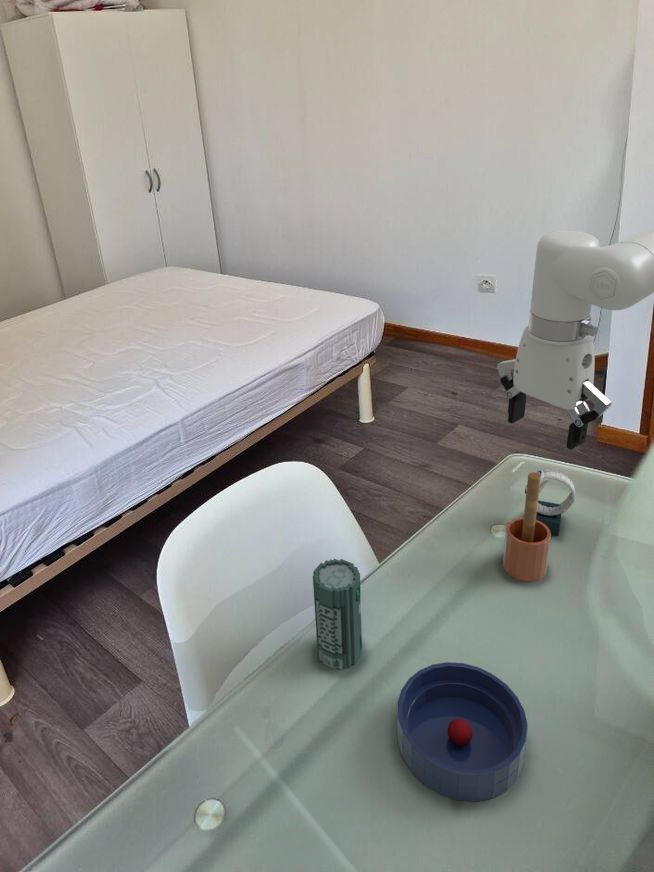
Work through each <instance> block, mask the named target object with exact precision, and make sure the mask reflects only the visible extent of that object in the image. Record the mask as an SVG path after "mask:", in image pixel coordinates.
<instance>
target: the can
mask: <svg viewBox="0 0 654 872" xmlns="http://www.w3.org/2000/svg"><path fill="white" fill-rule="evenodd" d="M312 574H313V575H312V585H313V586H312V587H313V600H314V601H313V602H314V616H315V617H314V618H315V633H316V634H315V635H316V648H317V649H316V650H317V656H318V659H319V662H320V663H321V664H323V665H325V666H327V667H329V668H332V669H334V670H336V669H339V670H341V671H342V670H343V669H345V670H346V669H347V668H349V669H350V668H351V667H352V666H353V665H354V666H356V665H357V663H358V662H359V660H360V658H361V657H362V656H363V641H362V640H363V637H362V636H363V635H362V634H363V633H362V597H361V573H360V570H359V569H358V567H357V566H355V564H354V563H353V562H351V561H350V562H349V561H347V560H346V559H342V558H340V559H338V558H337V559H336V558H333V559H329V560H327V559H326V560H325V561H324V562H320V563H319V564H318V565H317V567H315V569H314V570H313V572H312Z"/></svg>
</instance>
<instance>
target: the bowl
mask: <svg viewBox="0 0 654 872" xmlns="http://www.w3.org/2000/svg"><path fill="white" fill-rule="evenodd" d="M396 712H397V714H396V715H397V716H396V717H397V719H396V720H397V721H396V722H397V723H396V724H397V727H396V730H397V732H396V733H397V745H398V748H399V751H400V755H401V757H402V760H403V761H404V762H405V764H406V766H407V768H408V769H409V771H410V773H411V774H412V775H414V776H415V777H416V779H418V780H419V781H420V782H421V783H422V785H424V786H425V787H428V788H429V789H430V790H432V791H433V792H436V793H437V794H438V795H440V796H444V797H447V798H449V799H453V800H456V801H461V802H471V803H473V802H474V803H476V802H481V801H486V800H491V799H494V798H496V797H497V796H500V795H501V794H504V793H505V792H507V791H508V790H509V789H510V788H511V787H512V786H513V785H514V784H515V783H516V782H517V780H519V779H518V778H519V777H520V774H521V772H522V770H523V768H524V761H525V753H526V747H527V740H528V739H527V738H528V727H529V725H528V720H527V716H526V711H525V709H524V707H523V705H522V703H521V701H520V700H519V697H518V696H517V694H515V692H514V691H513V690H512V689H511V688H510V686H509V685H508V684H507V683H506V682H505V681H503V680H502V679H500V678H499V677H498V676H496V675H495V674H493V673H491V672H489V671H487V670H485V669H483V668H481V667H479V666H476V665H473V664H472V665H471V664H467V663H464V662H450V661H449V662H447V661H446V662H440V663H434V664H431V665H428V666H426V667H424V668H422V669H420V670H419V669H418V671H417V672H415V673H414V674H412V676H410V677H409V678H408V679H407V680H406V682H405V684H404V685H403V686H402V687H401V690H400V693H399V696H398V699H397V711H396ZM454 719H463V720H465V721H466V722H467V723H468V724H469V725H470V727H471V729H472V739H471V741H470V742H469V743H468V744H467V745H465V746H458V745H455V744H454V743H453V742H452V741H451V740H450V739H449V736H448V733H447V729H448V725H449V724H450V722H451V721H453V720H454Z"/></svg>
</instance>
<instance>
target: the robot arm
mask: <svg viewBox="0 0 654 872" xmlns="http://www.w3.org/2000/svg"><path fill="white" fill-rule="evenodd" d="M536 247H537V248H536V252H535V261H534V270H533V280H532V281H533V282H532V289H531V297H530V298H531V299H530V309H529V317H528V325H527V326H525V327H524V329H523V332H522V335H521V337H520V340H519V344H518V346H517V351H516V356H515V359H508V360H503V361H502V362H499V363H497V364H496V369H497V372H498V375H499V377H500V379H499V380H500V384H501V385H502V386H503V388H504V390H505V396H506V397H507V398H508V404H507V405H508V406H507V413H508V415H507V422H508V423H509V424H514V423H516V422H517V421H520V420H521V419H523V418H524V417H525V413H526V406H527V405H526V404H527V396H530V397H532V398H535V399H538V400H539V401H542V402H544V403H547V404H550V405H552V406H555V407H557V408H560V409H563V410H566V411H567V412H568V414H569V417H570V418H571V420H572V423H570V424H569V427H568V431H567V432H568V434H567V439H566V446H565V447H566V448H567V449H568V450H570V451H572V450H573V449H575V448H577V447H578V446H581V445H583V444H584V442H585V441H586V439H587V432H588V427H589V423H591V422H593V421H595V420H597V419H599V418H600V417H603V415H604V413H605V412H606V411H608V409H610V407H611V406H612V401H611V400H610V399H609V398H608V397H607V396H605V394H604V393H602V392H601V391H600V390H599V389H598V388H597V387H595V386H594V383H595V370H596V369H595V365H596V363H595V361H596V360H595V359H596V358H595V345H594V337H595V336H596V335H597V333H598V327H597V326H594V325H593V324H592V323H591V322H592V321H591V320H592V317H591V311H592V306H595V307H598V308H600V309H603V310H608V311H622V310H623V311H624V310H627V309H629V308H631V307H633V306H635V305H637V304H638V303H641V301H643V300H644V299H646V298H648V297H649V296H651V295H653V294H654V229H650V230H646V231H642V232H639V233H635V234H633V235H631V236H629V237H627V238H625V239H622V240H620V241H618V242H616V243H614V244H609V245H605V246H600V241H599V239H598V238H597V237H595V235H593V234H591V233H589V232H588V233H587V232H585V231H579V230H571V229H570V230H569V229H568V230H567V229H566V230H565V229H564V230H563V229H562V230H556V231H552V232H548V233H545V234H544V235H542V236H541V238H539V240H538V243H537V246H536ZM512 370H513V374H511V373H512ZM588 401H590V402H591V403H593V408H592V409H590V407H589V405H588V403H587V402H588Z"/></svg>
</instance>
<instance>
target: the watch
mask: <svg viewBox="0 0 654 872" xmlns="http://www.w3.org/2000/svg"><path fill="white" fill-rule="evenodd" d="M536 473H538V474H540V475H541V479H540V488H539V494H540V493H541V492H542V491H543V489H544V488H545V486H546V484H547V483H549V481H550V480H554V481H558V482H560V483H562V484H564V485H565V486H567V488H568V489H569V490H570V492H569V494H568V495H567V497H566V498H565V499H564V500H563V501H562V502H560V503H554V502H550V501H545V500H539V499H538V505H537V514H536V520H538V521H540V522H542V523H544V524H545V525H546V526H547V527H548V528H549V529H550V532H551V536H555V537H559V535H560V527H561V519H562V515H563V514H565V513H566V512H567V511H568V510H569V509H570V508H571V507H572V505H573V504H574V502H575V499H576V488H575V484H574V482H573V481H572V479H571V478H570V477H569V476H567V475H566V474H565V473H563V472H561V471H558V470H553V469H552V470H551V469H544V470H541V469H540V470H538V471H537V472H536ZM526 491H527V485H526V486H525V488H524V494H525V495H526Z"/></svg>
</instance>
